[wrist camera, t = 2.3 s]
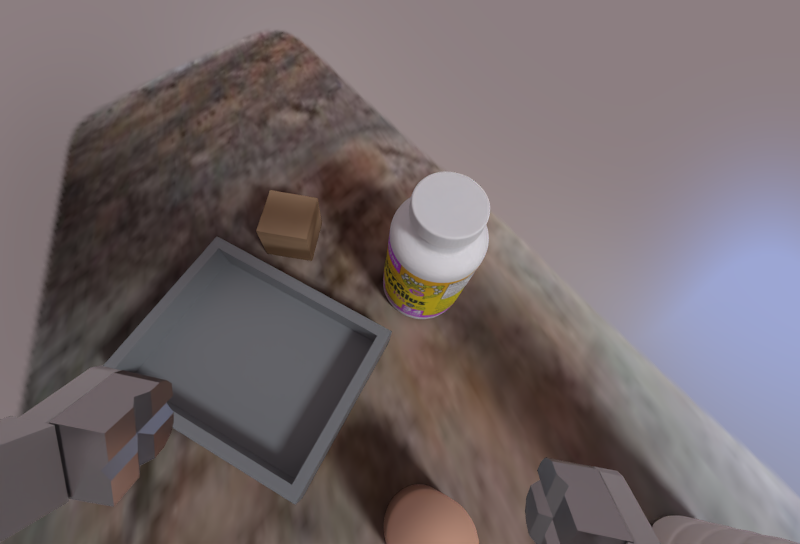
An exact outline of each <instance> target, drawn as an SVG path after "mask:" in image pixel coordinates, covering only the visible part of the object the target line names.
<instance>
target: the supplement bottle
mask: <svg viewBox="0 0 800 544" xmlns="http://www.w3.org/2000/svg"><path fill="white" fill-rule="evenodd" d="M489 215H490V204H489V200H488V197H487V195H486V193H485V191H484V190H483V189H482V187H480V185H479V184H478V183H476V182H475V181H474V180H472V179H471V178H469V177H467V176H465V175H462V174H459V173H455V172H438V173H434V174H431V175H429V176H427V177H425V178H424V179H422V180H421V181H420V182H419V183H418V184H417V186H416V187H415V189H414V191H413V193H412V196H411V197H410V198H409V199H407V200H406V201H405V202H404V203H403V204H402V205H401V206H400V207H399V208H398V209H397V211H396V213H395V215H394V217H393V219H392V222H391V227H390V233H389V241H388V248H387V254H386V261H385V268H384V275H383V288H384V292H385V294H386V297H387V299H388V300H389V302H390V303H391V305H392V306H393V307H394V308H395V309H396V310H398V311H399V312H400V313H402V314H404V315H406V316H408V317H411V318H416V319H429V318H434V317H436V316H439V315H441V314H442V313H444V312H445V311H446V310H448V309H449V308H450V307H451V306H452V304H453V303H454V302H455V300H456V299H457V298H458V296H459V295H460V293H461V292H462V290H463V289H464V287H465V286H466V284H467V283H468V281H469V280H470V278H471V277H472V275H473V274H474V272H475V271H476V270H477V268H478V267H479V265H480V264H481V262H482V260H483V259H484V257H485V254H486V252H487V248H488V242H489V235H488V229H487V225H486V223H487V221H488V219H489Z"/></svg>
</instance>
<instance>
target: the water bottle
mask: <svg viewBox="0 0 800 544" xmlns="http://www.w3.org/2000/svg"><path fill="white" fill-rule="evenodd" d="M652 529H653V530H654V532H655V534H656V536H657V538H658V539H659V541H660V543H661V544H800V543H796V542H793V541H790V540H786V539H782V538H778V537H773V536H767V535H761V534H758V533H755V532H751V531H747V530H741V529H735V528H732V527H729V526H725V525H720V524H715V523H710V522H707V521H703V520H699V519H695V518H690V517H686V516H680V515H676V516H666V517H663V518H661V519H659V520H657V521H656V522H655V523H654V524H653V527H652Z"/></svg>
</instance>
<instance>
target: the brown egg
mask: <svg viewBox="0 0 800 544" xmlns="http://www.w3.org/2000/svg"><path fill="white" fill-rule="evenodd" d="M383 529H384V537H385V542H386V544H479V540H478V535H477V531H476V528H475V526H474V523H473V521H472V519H471V517H470V516H469V515H468V513H467V512H466V511H465V509H464V508H463V507H462V506H461V505H460V504H458V503H457V502H456V501H454V500H453V499H451V498H449V497H448V496H446V495H445V494H443V493H441V492H440V491H438V490H437V489H435V488H433V487H431V486H428V485H423V484H415V485H410V486H407V487H405V488H403V489H402V490H400V491H399V492H398V493H397V494H396V495H395V496H394V497H393V498H392V500H391V501H390V503H389V505H388V507H387V510H386V512H385V516H384V525H383Z"/></svg>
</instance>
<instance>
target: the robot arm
mask: <svg viewBox="0 0 800 544" xmlns="http://www.w3.org/2000/svg"><path fill="white" fill-rule="evenodd" d="M172 396H173V392H172V383H170V382H169V381H167V380H163V379H159V378H155V377H150V376H146V375H142V374H137V373H133V372H129V371H124V370H122V371H121V370H117V369H113V368H109V367H105V366H96V367H91V368H89V369H88V370H87V371H85V372H84V373H82V374H81V375H79V376H78V377H76V378H75V379H74V380H72V381H71V382H69V383H68V384H66V385H65V386H63V387H62V388H61V389H59V390H58V391H56V392H55V393H53V394H52V395H50V396H49V397H48V398H46V399H45V400H43V401H42V402H40V403H39V404H37V405H36V406H35V407H33V408H32V409H30V410H29V411H27V412H26V413H24V414H23V415H22V416H20V417H13V416H9V417H6V418H3V419H0V542H1V541H3V540H5V539H6V538H8V537H10V536H11V535H13V534H15V533H17V532H18V531H20V530H22V529H23V528H25V527H27V526H28V525H30V524H32V523H33V522H35V521H37V520H39V519H40V518H42V517H44V516H45V515H47V514H49V513H50V512H52V511H54V510H55V509H57V508H59V507H61V506H62V505H64V504H66V503H67V502H68V501H69V499H73V500H79V501H85V502H90V503H96V504H102V505H108V506H115V505H116V504H117V502H118V501H119V500H120V499H121V498H122V497H123V495H124V494H125V493H126V492H127V491H128V489H129V488H130V487H131V486H132V485H133V484H134V482H135V481H136V480H137V479H138V478H139V477H140V465H142V464H144V463H146V462H148V461H150V460H152V459H154V458H155V457H156V456H157V455H158V454H159V453H160V451H161V450H162V449H163V448H164V446H165V444H166V442H167V440H168V438H169V436H170V434H171V432H172V428H173V423H174V412H173V411H172V410H171V408H170V407H169V406H168V404H167V402H168V401H169V399H170V398H171V397H172ZM537 471H538V474H539V477H540V480H539V481H537V482H536V483H534V484H532V485H531V486H530V489H529V492H528V494H527V497H526V507H525V514H526V524H527V528H528V533H529V535H530V537H531V538H532V539H533V540H534V542H535V543H536V544H661V543H660V541H659V539H658V538H657V536H656V534H655V532H654V530H653V529H652V527H651V525H650V523H649V522H648V520H647V518H646V516H645V514H644V513H643V511H642V509H641V507H640V505H639V504H638V502H637V500H636V498H635V497H634V495H633V493H632V491H631V489H630V488H629V486H628V484H627V482H626V480H625V479H624V477H623V476H622V475H621V474H620V473H619V472H618V471H615V470H610V469H605V468H599V467H594V466H593V467H591V466H588V465H583V464H577V463H572V462H567V461H562V460H557V459H552V458H547V457H546V458H545V459H544V460H542V461H541V463H540V465H539V468H538V470H537Z"/></svg>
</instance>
